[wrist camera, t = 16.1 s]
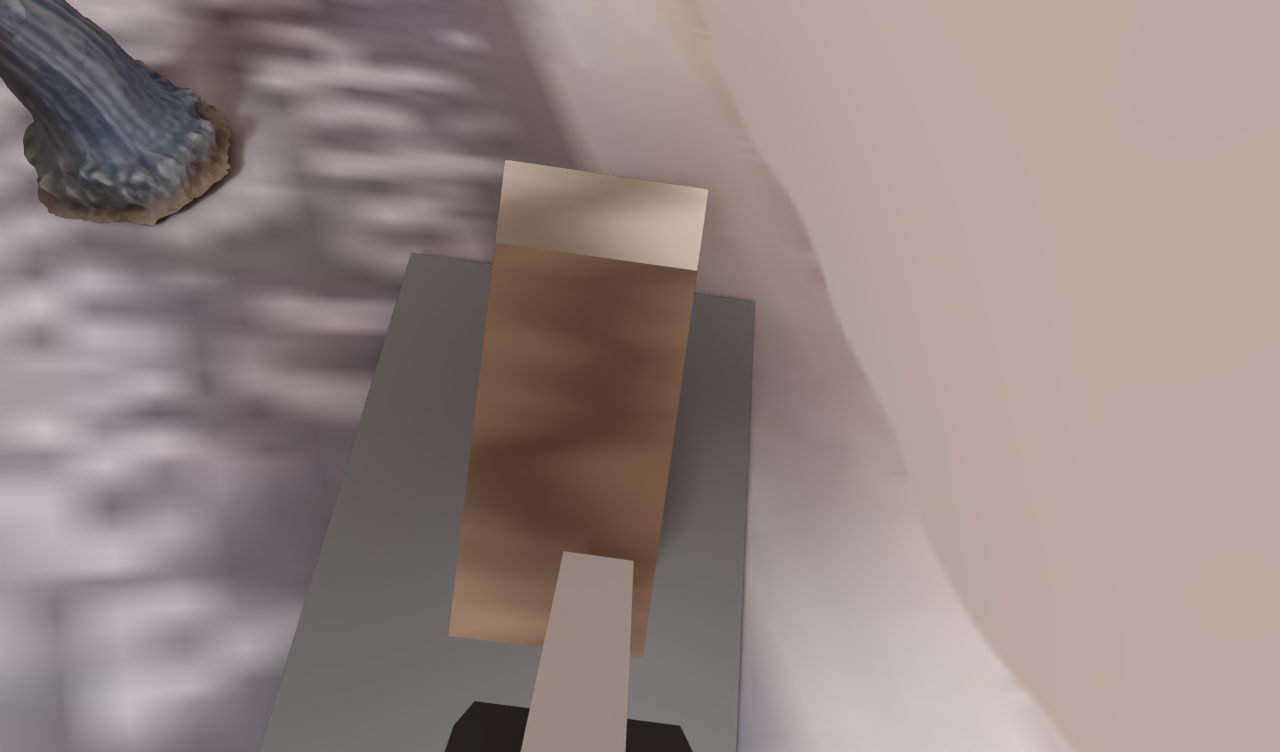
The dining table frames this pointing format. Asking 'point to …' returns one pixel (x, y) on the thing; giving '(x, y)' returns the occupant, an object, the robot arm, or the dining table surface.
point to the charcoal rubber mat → (430, 535)
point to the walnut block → (574, 391)
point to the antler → (105, 120)
